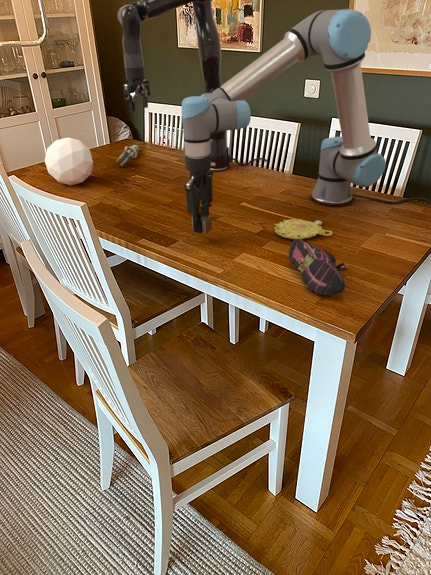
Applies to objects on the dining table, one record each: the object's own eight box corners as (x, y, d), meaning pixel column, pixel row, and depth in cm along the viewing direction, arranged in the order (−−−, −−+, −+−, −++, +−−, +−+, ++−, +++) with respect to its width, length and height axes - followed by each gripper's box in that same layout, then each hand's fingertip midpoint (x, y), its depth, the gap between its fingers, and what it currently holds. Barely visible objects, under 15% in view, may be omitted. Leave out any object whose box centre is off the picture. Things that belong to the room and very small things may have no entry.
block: (198, 226, 142) (197, 213, 140) (212, 228, 140) (211, 215, 138) (192, 231, 139) (191, 218, 137) (205, 234, 137) (205, 220, 135)
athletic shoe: (331, 285, 107) (371, 277, 111) (291, 223, 118) (328, 219, 123) (315, 312, 115) (352, 304, 120) (279, 253, 127) (314, 247, 131)
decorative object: (286, 211, 157) (342, 219, 147) (286, 217, 158) (341, 226, 148) (260, 233, 142) (319, 243, 133) (260, 240, 144) (319, 251, 134)
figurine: (121, 147, 205) (136, 136, 231) (111, 160, 208) (127, 147, 235) (133, 159, 207) (147, 145, 233) (123, 171, 210) (137, 157, 237)
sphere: (65, 197, 199) (41, 157, 196) (104, 175, 201) (80, 136, 198) (57, 189, 180) (29, 146, 177) (100, 165, 182) (73, 122, 180)
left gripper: (137, 63, 179) (142, 105, 188) (115, 67, 169) (121, 112, 178) (152, 63, 176) (156, 107, 185) (130, 68, 166) (136, 113, 175)
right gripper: (200, 146, 135) (204, 217, 148) (170, 162, 122) (177, 238, 135) (222, 148, 132) (224, 220, 145) (194, 165, 119) (198, 242, 132)
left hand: (139, 109), depth 181 cm, fingers open, 8 cm apart
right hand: (201, 229), depth 140 cm, fingers closed on block, 4 cm apart
